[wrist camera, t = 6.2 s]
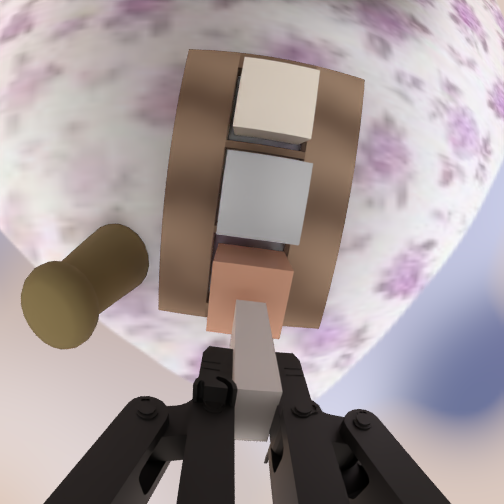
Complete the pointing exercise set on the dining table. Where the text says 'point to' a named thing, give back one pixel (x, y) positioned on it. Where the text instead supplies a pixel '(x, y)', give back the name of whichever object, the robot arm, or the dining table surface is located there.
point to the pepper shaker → (83, 285)
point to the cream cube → (276, 101)
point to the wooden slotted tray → (216, 142)
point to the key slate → (263, 197)
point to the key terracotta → (248, 285)
